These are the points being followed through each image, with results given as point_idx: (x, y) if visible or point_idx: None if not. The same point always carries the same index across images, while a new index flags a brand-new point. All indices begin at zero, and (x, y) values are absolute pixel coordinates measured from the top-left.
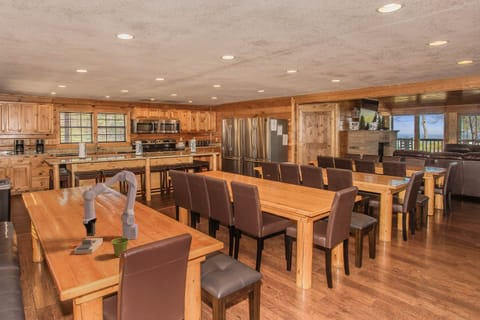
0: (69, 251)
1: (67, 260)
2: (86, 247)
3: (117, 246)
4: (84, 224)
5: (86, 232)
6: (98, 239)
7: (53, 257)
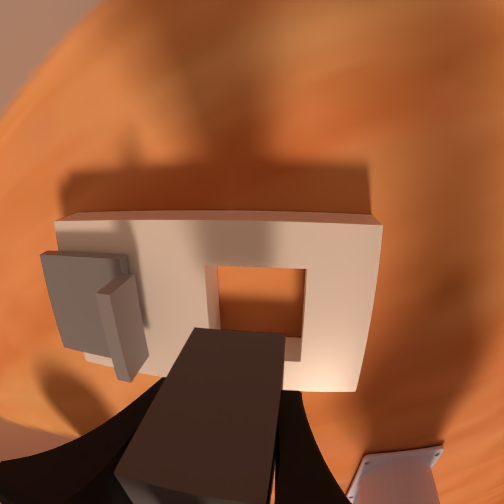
0: (124, 139)
1: (4, 217)
2: (65, 332)
3: None
4: (27, 471)
5: (175, 366)
6: (321, 368)
7: (35, 87)
